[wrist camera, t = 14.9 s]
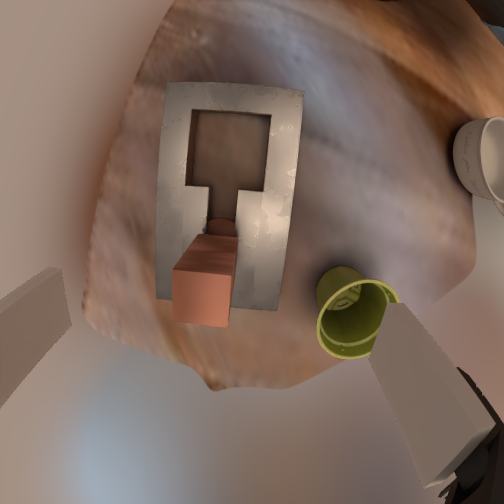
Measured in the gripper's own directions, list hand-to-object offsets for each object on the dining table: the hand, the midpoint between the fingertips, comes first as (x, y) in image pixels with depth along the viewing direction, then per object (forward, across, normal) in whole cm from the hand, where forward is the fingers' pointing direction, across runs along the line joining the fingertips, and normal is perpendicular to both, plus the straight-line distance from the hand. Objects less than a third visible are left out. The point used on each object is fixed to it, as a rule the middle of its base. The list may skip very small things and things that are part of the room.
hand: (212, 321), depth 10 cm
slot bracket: (+24, -2, +1) cm, 24 cm away
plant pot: (+24, +13, -9) cm, 28 cm away
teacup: (+24, +31, +10) cm, 41 cm away
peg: (+24, -2, -4) cm, 24 cm away
